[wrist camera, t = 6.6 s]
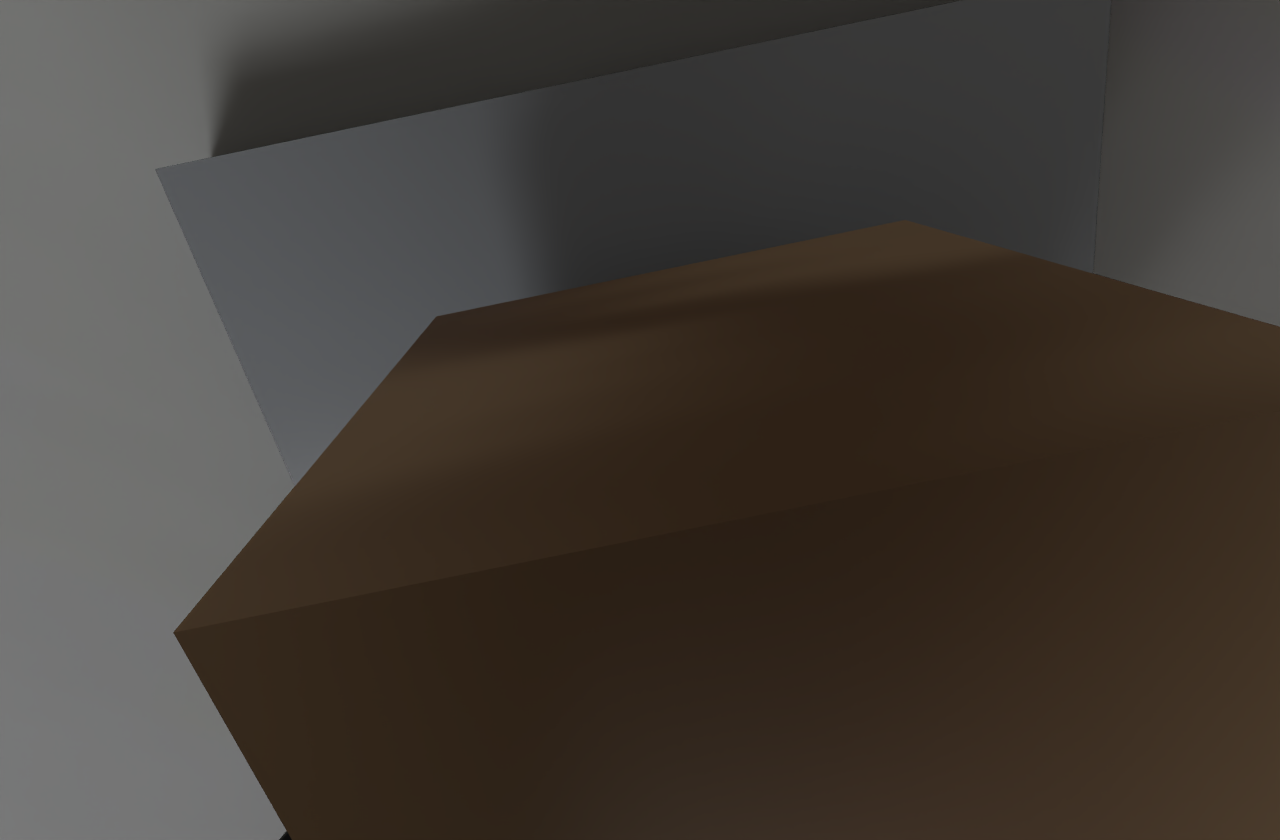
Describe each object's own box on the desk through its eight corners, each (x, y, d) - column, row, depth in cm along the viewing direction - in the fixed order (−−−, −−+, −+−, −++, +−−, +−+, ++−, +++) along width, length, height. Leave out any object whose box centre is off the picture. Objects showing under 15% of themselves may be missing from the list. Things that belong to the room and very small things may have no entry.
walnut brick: (583, 782, 10) (575, 1335, 5) (436, 316, 7) (171, 631, 3) (925, 715, 10) (1212, 1220, 5) (905, 220, 7) (1453, 375, 3)
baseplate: (455, 766, 13) (442, 823, 12) (208, 164, 9) (154, 168, 8) (1025, 654, 13) (1063, 702, 12) (1048, -11, 9) (1113, -32, 8)
